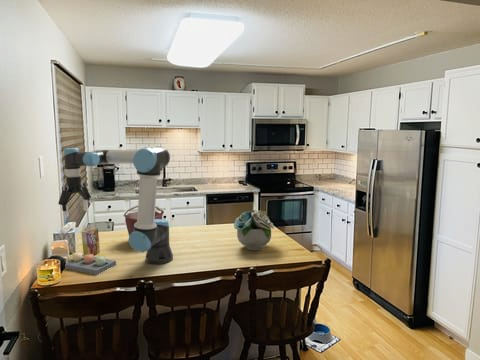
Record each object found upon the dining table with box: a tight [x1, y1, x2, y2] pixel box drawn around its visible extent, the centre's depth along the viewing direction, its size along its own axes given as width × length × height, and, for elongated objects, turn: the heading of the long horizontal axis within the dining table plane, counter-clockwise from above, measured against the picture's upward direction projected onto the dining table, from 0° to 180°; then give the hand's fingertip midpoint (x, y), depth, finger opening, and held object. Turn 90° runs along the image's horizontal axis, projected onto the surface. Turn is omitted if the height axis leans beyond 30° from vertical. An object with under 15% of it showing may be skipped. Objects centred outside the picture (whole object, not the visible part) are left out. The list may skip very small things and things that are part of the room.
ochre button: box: [71, 251, 83, 263], centre depth 193 cm, size 5×5×4 cm
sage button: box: [95, 255, 106, 267], centre depth 187 cm, size 5×5×4 cm
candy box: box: [81, 227, 101, 256], centre depth 206 cm, size 9×4×15 cm, turn 156°
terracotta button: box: [84, 254, 95, 265], centre depth 190 cm, size 5×5×4 cm
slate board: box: [65, 254, 117, 276], centre depth 190 cm, size 24×14×2 cm, turn 68°
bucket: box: [123, 204, 165, 236], centre depth 226 cm, size 24×22×25 cm
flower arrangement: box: [233, 209, 275, 252], centre depth 217 cm, size 25×25×24 cm
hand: (76, 213), depth 198 cm, fingers open, 13 cm apart
